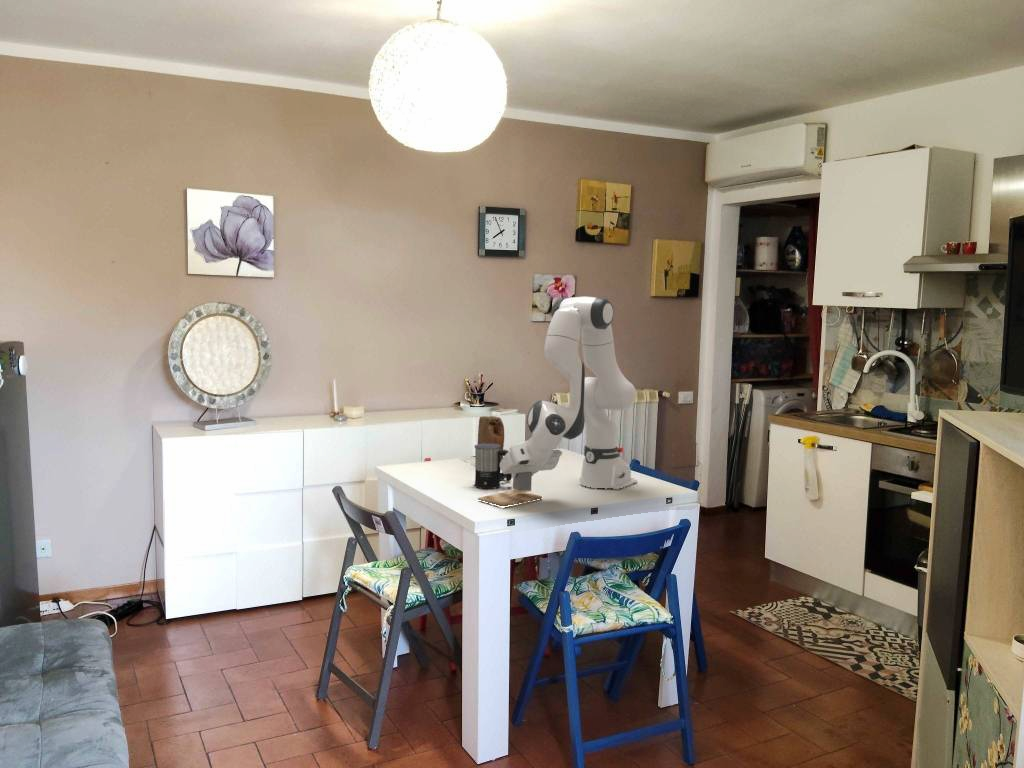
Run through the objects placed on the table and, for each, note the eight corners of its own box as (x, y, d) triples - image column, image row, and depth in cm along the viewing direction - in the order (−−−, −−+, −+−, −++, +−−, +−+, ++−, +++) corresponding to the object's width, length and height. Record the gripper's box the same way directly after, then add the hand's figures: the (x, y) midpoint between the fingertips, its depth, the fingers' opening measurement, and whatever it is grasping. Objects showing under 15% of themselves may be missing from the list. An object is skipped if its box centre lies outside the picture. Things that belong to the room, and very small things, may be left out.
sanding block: (524, 488, 279) (525, 462, 278) (531, 491, 275) (531, 464, 274) (513, 489, 277) (513, 463, 276) (519, 492, 273) (520, 465, 272)
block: (475, 465, 329) (476, 415, 326) (491, 463, 333) (492, 414, 331) (490, 470, 320) (491, 419, 318) (506, 468, 324) (507, 418, 322)
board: (517, 493, 284) (517, 489, 284) (542, 499, 275) (542, 496, 275) (478, 501, 272) (478, 497, 271) (502, 508, 263) (502, 505, 263)
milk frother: (475, 489, 288) (476, 448, 286) (469, 479, 303) (470, 440, 301) (515, 488, 290) (516, 447, 288) (507, 478, 306) (508, 439, 304)
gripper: (560, 442, 273) (544, 465, 283) (506, 446, 263) (491, 470, 273) (567, 457, 270) (551, 480, 279) (512, 462, 260) (497, 486, 270)
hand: (521, 475), depth 276 cm, fingers closed on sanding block, 4 cm apart
